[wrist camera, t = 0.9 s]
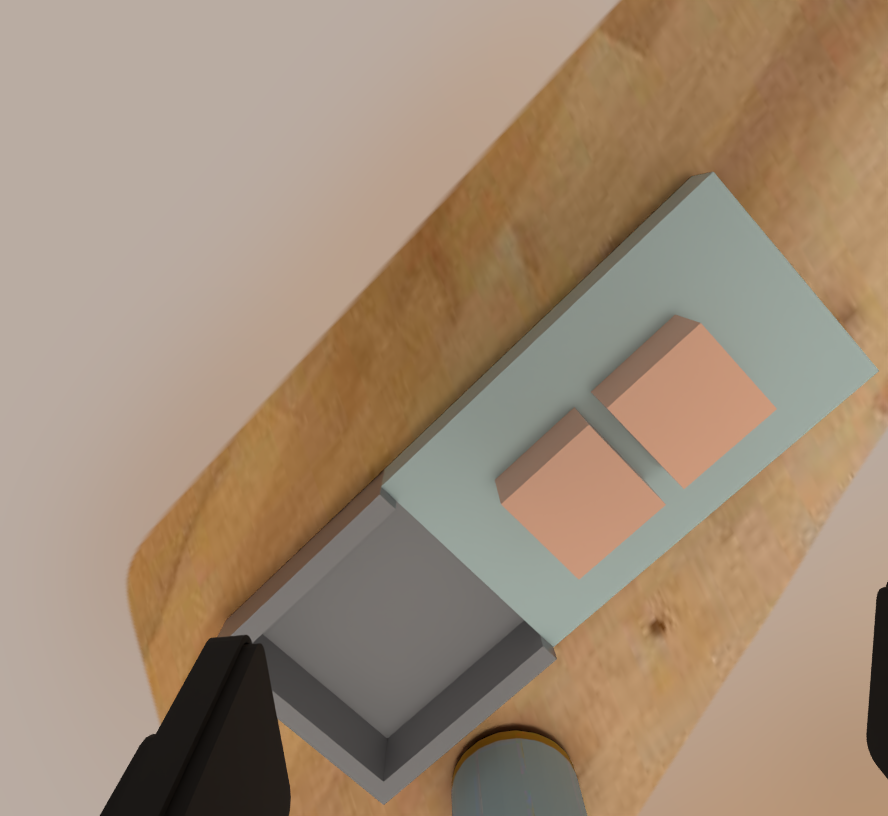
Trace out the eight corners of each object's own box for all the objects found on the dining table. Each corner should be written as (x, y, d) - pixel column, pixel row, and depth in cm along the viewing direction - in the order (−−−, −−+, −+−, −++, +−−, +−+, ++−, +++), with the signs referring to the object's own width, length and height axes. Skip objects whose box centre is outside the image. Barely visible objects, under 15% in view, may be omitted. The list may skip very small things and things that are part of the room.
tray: (384, 469, 35) (379, 494, 31) (545, 619, 37) (557, 659, 34) (226, 620, 37) (205, 659, 33) (388, 755, 39) (384, 804, 35)
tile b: (574, 406, 31) (588, 424, 29) (644, 480, 32) (666, 504, 30) (494, 480, 32) (500, 504, 29) (566, 549, 33) (578, 579, 30)
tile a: (675, 314, 31) (700, 322, 28) (745, 392, 31) (777, 408, 29) (590, 391, 31) (607, 408, 28) (661, 466, 32) (684, 489, 29)
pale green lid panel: (691, 176, 32) (713, 171, 29) (846, 361, 34) (878, 370, 31) (384, 469, 35) (381, 486, 32) (545, 619, 37) (553, 647, 34)
